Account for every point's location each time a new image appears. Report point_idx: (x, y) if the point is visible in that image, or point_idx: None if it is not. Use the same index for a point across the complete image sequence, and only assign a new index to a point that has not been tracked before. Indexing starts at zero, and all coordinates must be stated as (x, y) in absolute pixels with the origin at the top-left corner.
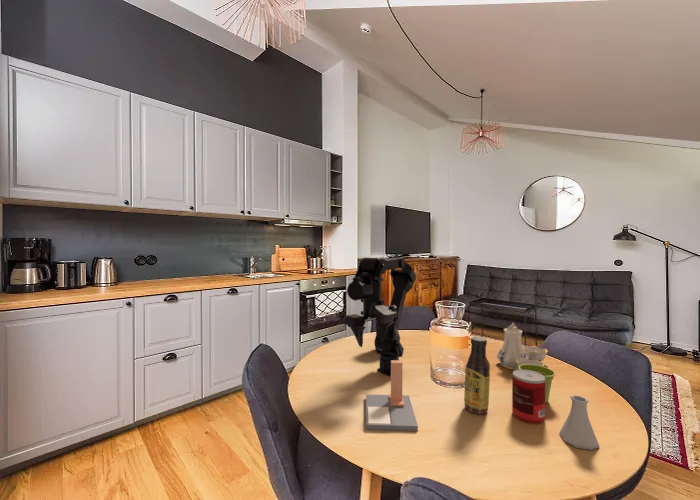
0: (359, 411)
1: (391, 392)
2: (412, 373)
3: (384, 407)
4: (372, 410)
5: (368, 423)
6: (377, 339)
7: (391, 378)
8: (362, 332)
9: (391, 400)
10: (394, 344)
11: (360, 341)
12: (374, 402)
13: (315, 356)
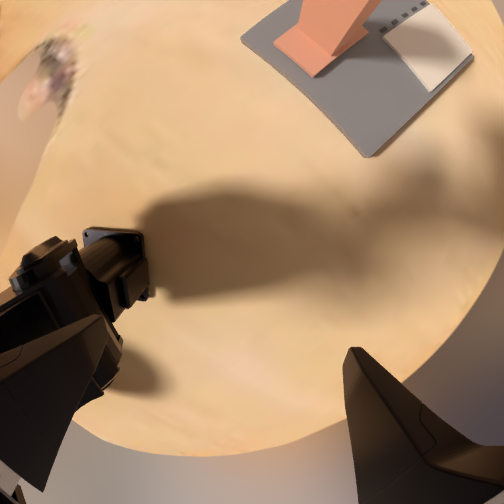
0: (434, 120)
1: (357, 30)
2: (68, 195)
3: (393, 45)
4: (434, 68)
5: (471, 51)
6: (96, 377)
7: (378, 4)
8: (431, 448)
9: (349, 41)
10: (41, 272)
11: (393, 379)
12: (389, 94)
13: (242, 446)
